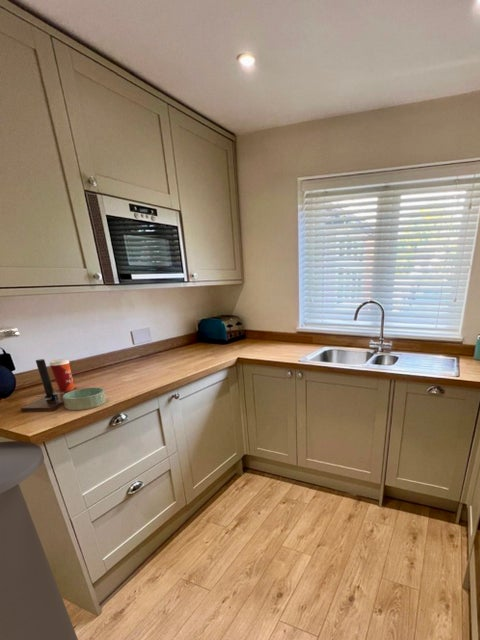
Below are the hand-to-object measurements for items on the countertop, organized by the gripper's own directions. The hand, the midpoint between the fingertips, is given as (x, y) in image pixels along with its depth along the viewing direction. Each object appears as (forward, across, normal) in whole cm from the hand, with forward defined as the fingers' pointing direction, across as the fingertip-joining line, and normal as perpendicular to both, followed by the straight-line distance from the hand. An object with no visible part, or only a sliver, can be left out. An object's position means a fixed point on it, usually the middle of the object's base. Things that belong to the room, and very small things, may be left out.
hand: (6, 335), depth 130 cm
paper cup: (+3, +17, +28) cm, 33 cm away
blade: (+12, 0, +26) cm, 29 cm away
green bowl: (+27, +1, +28) cm, 39 cm away
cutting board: (+12, +1, +28) cm, 30 cm away
